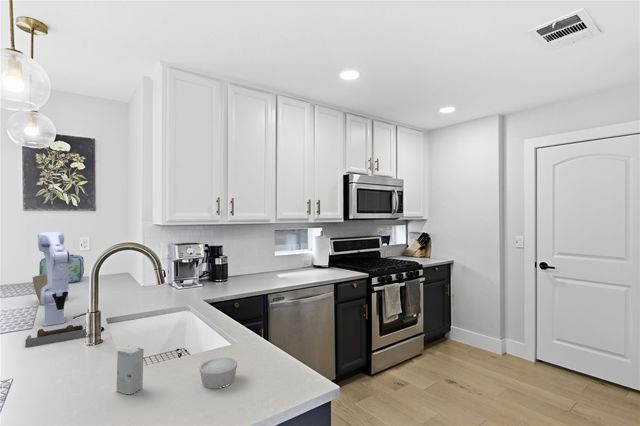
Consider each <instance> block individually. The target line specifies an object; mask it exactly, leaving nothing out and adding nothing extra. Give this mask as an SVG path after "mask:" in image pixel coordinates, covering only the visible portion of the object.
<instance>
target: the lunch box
mask: <svg viewBox="0 0 640 426" xmlns="http://www.w3.org/2000/svg"><path fill="white" fill-rule="evenodd" d="M84 263H85V262H84V257H83V256H81V255H77V254H75V255H74V254H70V262H69V264H68V263H67V264H68V284H69V283H77V282H79V281H81V280H82V279H83V277H84V274H85V267H84V265H85V264H84ZM38 274H39V275H47V272H46V260H45V257H43V258H42V259H40V261H39V273H38ZM39 275H38V276H39Z"/></svg>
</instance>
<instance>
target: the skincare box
mask: <svg viewBox="0 0 640 426" xmlns="http://www.w3.org/2000/svg"><path fill="white" fill-rule="evenodd" d="M144 350H145V349H144V348H143V347H139V346H133V345H132V344H131V345H130V344H129V345H126V346H125V347H122V348H119V349H118V350H117V358H116V359H117V360H116V361H117V363H116V392H118V393H121V394H124V395H127V394H129V395H128V396H131V395H130V394H132V393H134V392H135V393H137V392H139V391H140V390H139V389H141V388H142V389H143V379H144V378H143V377H144V353H145V351H144ZM142 389H141V390H142ZM138 390H139V391H138ZM136 391H137V392H136ZM135 393H134V394H135ZM132 395H133V394H132Z"/></svg>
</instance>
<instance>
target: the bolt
mask: <svg viewBox="0 0 640 426" xmlns="http://www.w3.org/2000/svg"><path fill="white" fill-rule="evenodd" d="M78 330H84V325H82V324H80V325H73V324H69V325H67V326H66V327H63V328H57V329H52V330H44V329H43V328H40V329H39V328H38V330H37V332H36V337H41V336H47V335H54V334H60V333H66V332H72V331H78Z"/></svg>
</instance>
